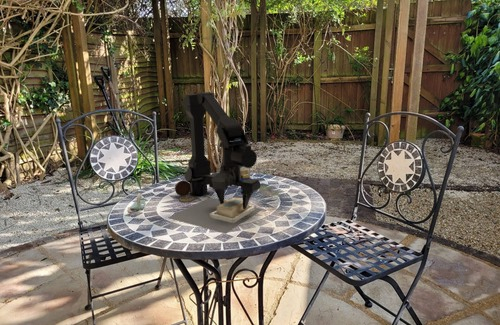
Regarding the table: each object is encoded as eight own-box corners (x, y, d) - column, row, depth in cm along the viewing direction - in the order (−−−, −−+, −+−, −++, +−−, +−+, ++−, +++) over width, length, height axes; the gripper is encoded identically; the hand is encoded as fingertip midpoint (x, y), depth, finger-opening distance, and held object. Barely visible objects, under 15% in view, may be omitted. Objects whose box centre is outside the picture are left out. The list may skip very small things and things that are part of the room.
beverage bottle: (253, 180, 154) (252, 136, 149) (245, 186, 147) (244, 140, 142) (236, 178, 158) (235, 135, 153) (228, 184, 150) (226, 139, 145)
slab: (234, 206, 122) (234, 197, 121) (248, 209, 119) (248, 200, 118) (217, 216, 114) (216, 206, 113) (231, 220, 111) (231, 209, 110)
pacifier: (125, 214, 119) (143, 213, 120) (123, 197, 118) (140, 196, 118) (130, 207, 127) (147, 205, 127) (128, 191, 125) (144, 189, 126)
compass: (181, 205, 126) (180, 186, 125) (175, 199, 133) (174, 181, 131) (202, 201, 130) (200, 183, 128) (195, 195, 137) (193, 178, 135)
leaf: (283, 209, 125) (283, 206, 124) (262, 208, 124) (262, 206, 124) (277, 188, 144) (277, 186, 143) (259, 188, 143) (259, 185, 143)
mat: (167, 219, 114) (167, 214, 114) (209, 199, 132) (208, 194, 132) (226, 235, 102) (225, 229, 101) (263, 210, 120) (262, 205, 119)
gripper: (193, 163, 110) (196, 209, 114) (241, 171, 101) (243, 220, 104) (214, 156, 119) (216, 199, 123) (260, 162, 110) (261, 208, 114)
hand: (233, 206), depth 116 cm, fingers open, 9 cm apart
